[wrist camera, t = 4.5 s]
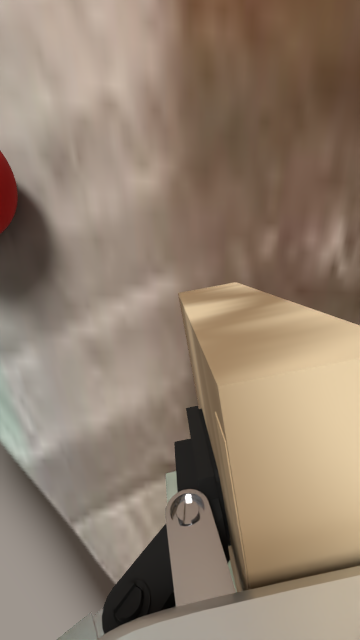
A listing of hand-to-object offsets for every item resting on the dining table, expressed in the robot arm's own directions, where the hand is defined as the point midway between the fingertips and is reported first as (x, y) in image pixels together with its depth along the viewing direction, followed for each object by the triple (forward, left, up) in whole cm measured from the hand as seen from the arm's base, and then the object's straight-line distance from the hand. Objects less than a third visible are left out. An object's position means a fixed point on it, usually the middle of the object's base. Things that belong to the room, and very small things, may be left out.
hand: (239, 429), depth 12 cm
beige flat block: (0, 0, -3) cm, 3 cm away
